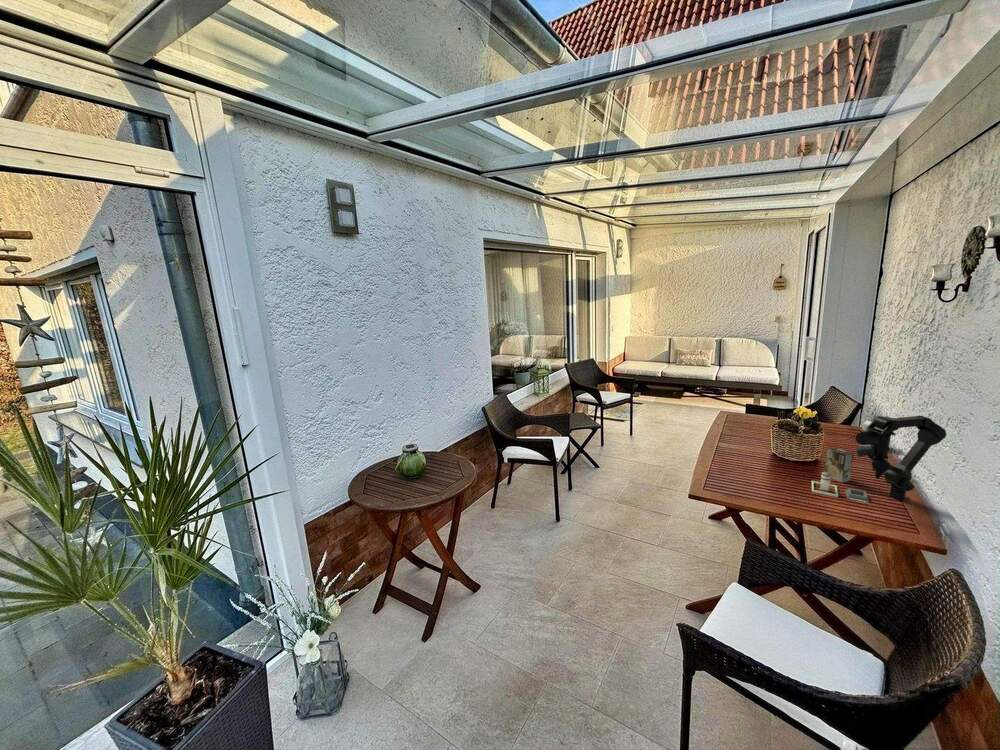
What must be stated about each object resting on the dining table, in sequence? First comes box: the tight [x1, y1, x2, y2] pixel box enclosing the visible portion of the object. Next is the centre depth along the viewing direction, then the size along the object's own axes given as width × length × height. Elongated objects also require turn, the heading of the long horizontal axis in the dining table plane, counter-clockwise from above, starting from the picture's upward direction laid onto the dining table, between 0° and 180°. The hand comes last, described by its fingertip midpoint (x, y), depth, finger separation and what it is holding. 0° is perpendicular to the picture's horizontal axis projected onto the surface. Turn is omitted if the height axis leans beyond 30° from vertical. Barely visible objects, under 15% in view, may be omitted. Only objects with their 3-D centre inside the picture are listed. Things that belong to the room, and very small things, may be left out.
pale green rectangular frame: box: [811, 480, 839, 498], centre depth 207 cm, size 12×10×2 cm
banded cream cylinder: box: [819, 471, 832, 493], centre depth 206 cm, size 4×4×9 cm
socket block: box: [844, 487, 870, 504], centre depth 200 cm, size 10×8×3 cm
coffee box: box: [824, 446, 855, 483], centre depth 217 cm, size 9×6×16 cm
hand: (875, 474), depth 195 cm, fingers open, 9 cm apart
